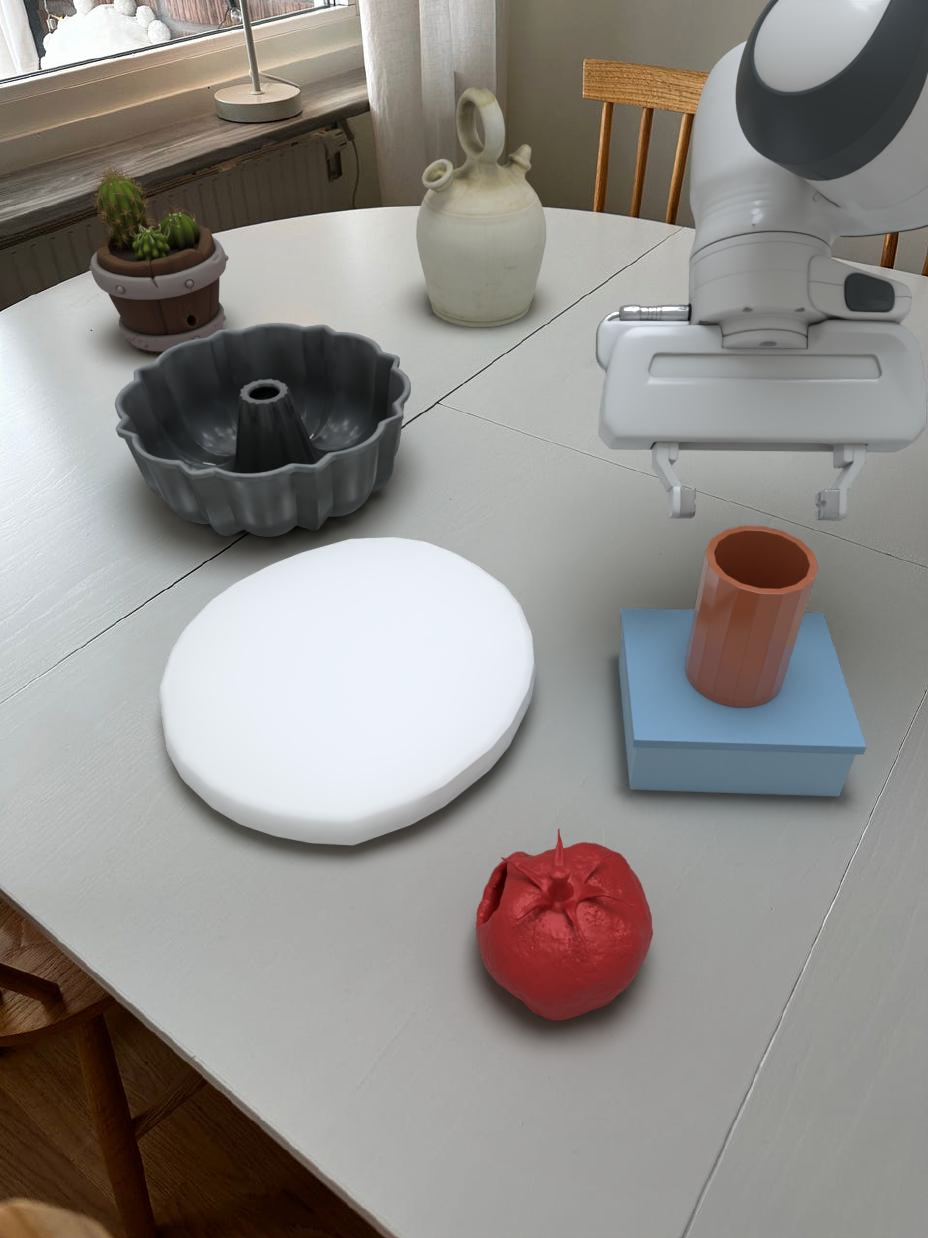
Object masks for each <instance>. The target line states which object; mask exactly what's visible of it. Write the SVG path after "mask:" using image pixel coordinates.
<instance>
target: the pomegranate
mask: <svg viewBox="0 0 928 1238" xmlns="http://www.w3.org/2000/svg"><path fill="white" fill-rule="evenodd" d="M560 832H561V831H560V828H558V829H557V841H556V845H555V847H554V848H551V849H547V850H545V851H543V852H541V853H538V854H535V855H532V854H529V853H527V852H525V851H521V850H519V851H515V852H513V853H511V854H510V855H509V856H507V857H502V856H500V859H501V860H502V861H501V862H499V864H498V865H497V866H496V867H494V869H493V870H492V872H491V873H490V877H489V879H488V881H487V883H486V885H485V886H484V889H483V893H482V897H481V900H480V901H479V904H478V906H477V908H476V909H477V910H476V921H475V934H476V940H477V943H478V944H477V945H478V950H479V954H480V957H481V959H482V962H483V964H484V965H483V966H484V967H485V969H486V971H487V972H488V974H489V975H490V976H491V977H492V978H493V980H494V981H495V983H497V985H498V986H500V987H502V988H504V989H505V990H506V991H507V992H508V993H510V994H511V995H512V996H513V997H515V998H516V999H518V1000H520V1001H522V1002H523V1004H524V1005H525V1006H526V1007H527V1008H528V1009H529V1010H530V1012H532V1013H533V1014H534V1015H535V1014H536V1015H538V1016H541V1017H543V1018H545V1019H546V1020H548V1021H565V1020H569V1019H572V1018H575V1017H578V1016H581V1015H583V1014H586V1013H589V1012H591V1011H593V1010H598V1009H601V1008H602V1007H605V1006H607V1005H608V1004H610V1003H611V1002H612V1001H614V999H615V998H616V997H617V996H618V995H619V994H621V993H622V992H623V991H625V990H626V989H627V988H628V987H629V986H630V985H631V983H632V982H633V980H634V979H635V977H637V975H638V973H639V971H640V969H641V967H642V966H643V963H644V962H645V959H646V957H647V954H648V952H649V949H650V946H651V943H652V940H653V935H654V929H653V915H652V912H651V908H650V905H649V903H648V901H647V900H648V899H647V896H646V893H645V890H644V888H643V885H642V882H641V881H640V878H639V877H638V875H637V874H636V873H635V871H634V870H633V869H632V868H631V866H630V864H629V862H628V861H627V858H625V856H623V855H622V854H621V853H620V852H618V851H616V850H612V849H610V848H608V847H607V846H603V845H602V844H599V843H596V842H586V841H584V842H577V843H574V844H572V845H569V846H567V847H564V845H563V840H562V838H561V833H560Z"/></svg>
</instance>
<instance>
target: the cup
mask: <svg viewBox="0 0 928 1238" xmlns="http://www.w3.org/2000/svg"><path fill="white" fill-rule="evenodd" d="M703 558H704V559H703V564H702V569H701V574H700V579H699V585H698V589H697V594H696V599H695V606H694V609H693V610H694V614H693V619H692V624H691V629H690V634H689V639H688V644H687V649H686V655H685V665H684V666H685V673H686V676H687V678H688V680H689V682H690V683H691V685H692V686H693V687H694V688H695V689H696V690H697V691H698V692H699V693H700V694H702V695H703V696H704V697H706V698H708V699H710V700H712V701H714V702H716V703H719V704H722V705H726V706H730V707H739V708H748V707H755V706H759V705H762V704H765V703H767V702H769V701H770V700H772V699H773V698H775V697H776V696H777V695H778V693H779V692H780V690H781V688H782V686H783V682H784V679H785V676H786V673H787V670H788V666H789V663H790V660H791V656H792V653H793V650H794V646H795V643H796V640H797V637H798V633H799V630H800V627H801V623H802V620H803V617H804V613H806V609H807V606H808V603H809V601H810V596H811V594H812V590H813V587H814V583H815V580H816V577H817V573H818V569H819V564H818V561H817V558H816V555H815V553H814V552H813V551H812V549H811V548H809V546H807V544H806V543H805V542H804V541H802V540H801V539H799V538H797V537H795V536H794V535H791V534H790V533H788V532H786V531H784V530H780V529H776V528H773V527H768V526H763V525H739V526H736V527H731V528H728V529H724V530H722V531H721V532H719V533H717V534H716V535H715V536H713V537H712V538H711V539H710V541H709V544H708V545H707V548H706V549H705V554H704V557H703Z"/></svg>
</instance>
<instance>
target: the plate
mask: <svg viewBox="0 0 928 1238" xmlns="http://www.w3.org/2000/svg"><path fill="white" fill-rule="evenodd" d="M536 677H537V665H536V654H535V642H534V637H533V632H532V631H531V629H530V625H529V624H528V620H527V618H526V616H525V613H524V611H523V608H522V606H521V604H520V603H519V602H518V600H517V599H516V598H515V596H513V594H512V593H511V592H510V590H509V589H508V588H507V587H506V586H505V585H504V584H503V583H502V582H501V581H499V580H498V579H496V578H495V577H493V575H491V574H489V573H488V572H487V571H485V570H484V569H483V568H481V567H480V566H478V564H476V563H473V562H472V561H470V560H468V559H467V558H465V557H463V556H462V555H459V554H457V553H456V552H453V551H451V550H448V549H446V548H443V547H441V546H439V545H436V544H433V543H430V542H428V541H424V540H417V539H412V538H404V537H398V536H388V537H385V536H383V537H364V538H362V537H361V538H348V539H345V540H341V541H338V542H334V543H331V544H327V545H324V546H320V547H316V548H313V549H309V550H306V551H303V552H299V553H297V554H294V555H292V556H290V557H288V558H284V559H282V560H279V561H276V562H274V563H272V564H269V565H267V566H265V567H263V568H262V569H259V570H258V571H256V572H254V573H252V574H250V575H248V576H246V577H244V578H242V579H240V580H238V581H237V582H235V583H233V584H232V585H230V586H229V587H227V588H226V589H225V590H223V591H222V592H221V593H219V594H218V595H217V596H215V597H214V598H213V599H211V600H210V601H209V602H208V603H207V604H206V605H204V607H203V608H202V609H201V610H200V611H199V613H198V614H197V615H196V616H195V617H194V618H193V619H192V620H191V621H190V622H189V623H188V624H187V625H186V627H185V628H184V629H183V631H182V633H181V634H180V636H179V637H178V639H177V641H176V642H175V644H174V646H173V647H172V649H171V651H170V653H169V656H168V659H167V663H166V666H165V669H164V672H163V675H162V679H161V681H160V685H159V688H158V703H159V710H160V715H161V721H162V730H163V736H164V741H165V748H166V751H167V754H168V756H169V758H170V760H171V762H172V764H173V765H174V768H175V769H176V771H177V773H178V775H179V777H180V778H181V779H182V780H183V782H184V783H185V784H186V785H187V786H189V788H191V789H192V791H194V792H195V793H196V795H198V796H199V797H200V798H201V799H202V800H203V801H204V802H205V803H206V804H207V805H208V806H209V807H210V808H211V809H213V810H215V811H216V812H218V813H220V814H221V815H223V816H225V817H227V818H228V819H230V820H231V821H233V822H235V823H237V824H238V825H240V826H244V827H247V828H250V829H252V830H255V831H258V832H261V833H263V834H268V835H270V836H273V837H277V838H282V839H289V840H293V841H298V842H304V843H310V844H323V845H324V844H325V845H337V846H338V845H339V846H355V845H358V844H361V843H364V842H366V841H367V842H368V841H370V840H373V839H375V838H378V837H381V836H383V835H384V836H385V835H386V834H389V833H392V832H395V831H398V830H401V829H403V828H406V827H409V826H412V825H413V824H416V823H417V822H419V821H421V820H422V819H425V818H426V817H428V816H430V815H431V814H433V813H436V812H437V811H439V810H441V809H443V808H444V807H446V806H447V805H448V804H449V803H450V802H452V801H453V800H454V799H456V798H457V797H458V796H459V795H461V794H462V793H463V792H464V791H466V790H468V788H470V786H472V785H473V784H474V783H476V782H477V781H478V780H480V779H481V778H482V777H483V776H484V775H486V774H487V773H488V772H489V771H490V770H491V769H492V768H493V767H494V765H496V763H498V761H499V760H500V758H501V757H502V756H503V754H505V752H506V751H507V749H508V748H509V747H510V746H511V744H512V741H513V739H514V738H515V735H516V733H517V731H518V730H519V727H520V725H521V723H522V721H523V719H524V717H525V715H526V713H527V711H528V710H529V709H528V708H529V707H530V705H531V703H532V698H533V697H532V696H533V691H534V686H535V683H536Z"/></svg>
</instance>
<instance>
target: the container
mask: <svg viewBox="0 0 928 1238" xmlns="http://www.w3.org/2000/svg"><path fill="white" fill-rule="evenodd" d="M693 614H694V609H681V608H680V609H679V608H678V609H676V608H640V607H639V608H638V607H637V608H635V607H632V608H631V607H621V608H620V614H619V615H620V627H621V642H620V651H619V658H618V674H619V685H620V695H621V706H622V707H621V708H622V718H623V728H624V729H623V730H624V739H625V740H624V741H625V750H626V764H627V772H628V773H627V775H628V784H629V790H632V791H659V792H660V791H661V792H663V791H664V792H666V791H667V792H693V793H722V794H748V795H749V794H753V795H754V794H755V795H781V796H782V795H783V796H808V797H809V796H811V797H812V796H814V797H840V796H841V793H842V790H843V787H844V785H845V783H846V780H847V778H848V775H849V773H850V770H851V769H852V765H853V763H854V761H855V758H856V756H857V755H864V754H865V752H866V749H867V743H866V742H865V741H866V740H865V738H864V735H863V732H862V729H861V726H860V723H859V720H858V716H857V713H856V710H855V707H854V704H853V700H852V697H851V695H850V690H849V688H848V685H847V682H846V679H845V677H844V673H843V670H842V667H841V664H840V661H839V658H838V654H837V650H836V648H835V646H834V642H833V639H832V636H831V632H830V630H829V629H830V628H829V627H828V623H827V621H826V617H825V614H824V613H823V612H805V613H804V617H803V620H802V623H801V627H800V630H799V633H798V637H797V640H796V643H795V646H794V650H793V653H792V656H791V660H790V663H789V666H788V670H787V673H786V676H785V679H784V682H783V686H782V688H781V690H780V692H779V693H778V695H777V696H776V697H775V698H773V699H772V700H770V701H769V702H767V703H765V704H762V705H759V706H755V707H748V708H739V707H730V706H726V705H722V704H719V703H716V702H714V701H712V700H710V699H708V698H706V697H704V696H703V695H702V694H700V693H699V692H698V691H697V690H696V689H695V688H694V687H693V686H692V685H691V683H690V682H689V680H688V678H687V676H686V673H685V666H684V665H685V655H686V649H687V644H688V639H689V634H690V629H691V624H692V619H693Z"/></svg>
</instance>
